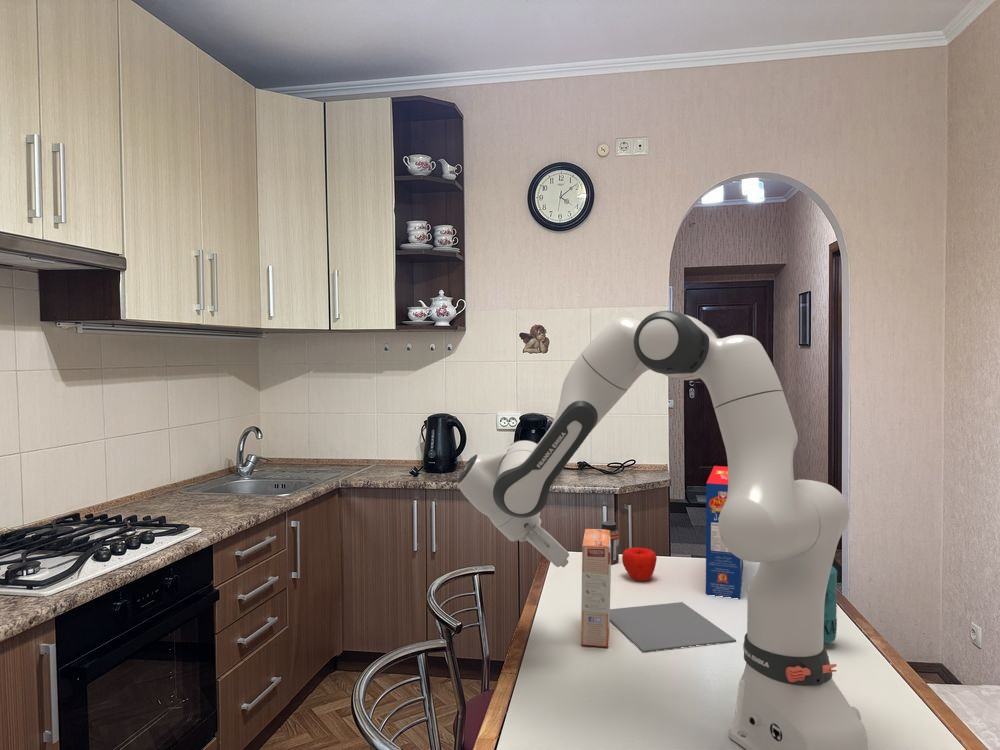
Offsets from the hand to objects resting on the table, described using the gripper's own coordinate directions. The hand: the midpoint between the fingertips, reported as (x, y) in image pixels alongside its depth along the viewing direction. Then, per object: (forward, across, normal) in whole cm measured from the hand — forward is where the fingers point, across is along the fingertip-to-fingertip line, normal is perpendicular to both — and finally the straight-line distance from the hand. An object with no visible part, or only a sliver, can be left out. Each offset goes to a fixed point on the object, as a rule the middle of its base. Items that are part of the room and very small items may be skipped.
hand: (564, 563), depth 140 cm
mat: (+28, 0, -5) cm, 28 cm away
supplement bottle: (+32, +46, -10) cm, 57 cm away
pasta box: (+49, +24, -27) cm, 61 cm away
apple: (+34, +30, -11) cm, 47 cm away
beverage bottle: (+46, -16, -24) cm, 55 cm away
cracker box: (+16, 0, +6) cm, 18 cm away
